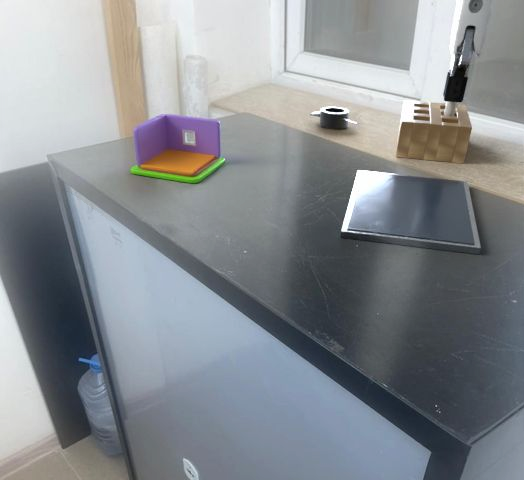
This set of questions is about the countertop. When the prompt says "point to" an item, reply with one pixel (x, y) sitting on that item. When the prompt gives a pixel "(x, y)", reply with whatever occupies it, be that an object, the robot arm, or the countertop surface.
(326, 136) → the countertop surface
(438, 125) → the pen stand
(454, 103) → the stylus
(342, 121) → the black ring with handles
